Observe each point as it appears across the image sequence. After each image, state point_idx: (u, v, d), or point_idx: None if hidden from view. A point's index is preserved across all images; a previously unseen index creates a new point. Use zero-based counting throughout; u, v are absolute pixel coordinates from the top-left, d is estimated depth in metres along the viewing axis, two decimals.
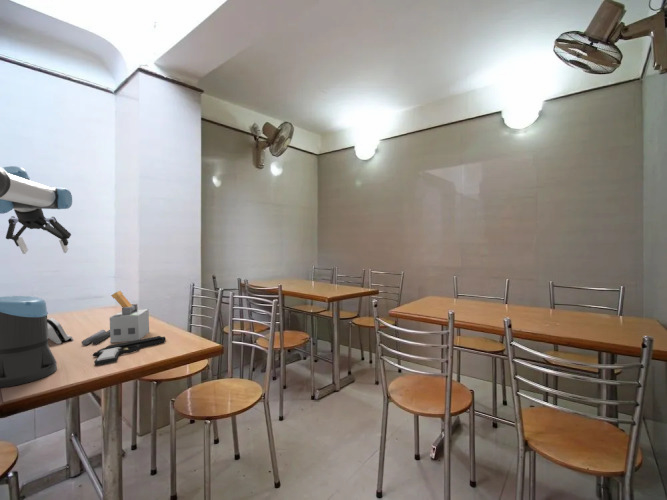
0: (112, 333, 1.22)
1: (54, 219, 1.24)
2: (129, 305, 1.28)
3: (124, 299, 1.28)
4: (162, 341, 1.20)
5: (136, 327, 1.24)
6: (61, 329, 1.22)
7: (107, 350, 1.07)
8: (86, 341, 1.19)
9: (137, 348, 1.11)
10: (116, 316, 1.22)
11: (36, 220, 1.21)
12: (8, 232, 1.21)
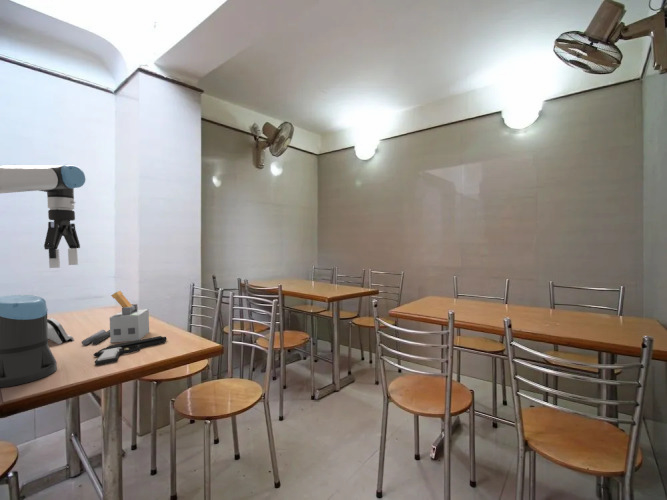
0: (112, 333, 1.22)
1: (53, 223, 1.10)
2: (129, 305, 1.28)
3: (124, 299, 1.28)
4: (163, 341, 1.20)
5: (136, 327, 1.24)
6: (62, 329, 1.22)
7: (108, 350, 1.07)
8: (86, 341, 1.19)
9: (138, 348, 1.11)
10: (116, 316, 1.22)
11: None
12: None
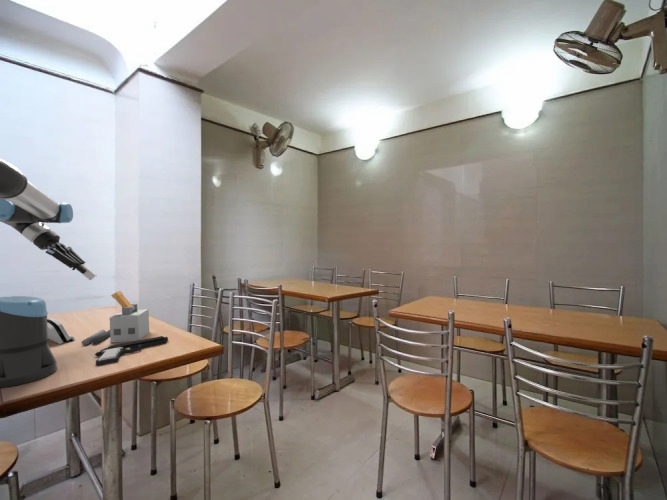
0: (112, 333, 1.22)
1: (50, 250, 1.16)
2: (129, 305, 1.28)
3: (124, 299, 1.28)
4: (164, 341, 1.20)
5: (136, 327, 1.24)
6: (63, 329, 1.22)
7: (109, 350, 1.07)
8: (86, 341, 1.19)
9: (139, 348, 1.11)
10: (116, 316, 1.22)
11: None
12: None
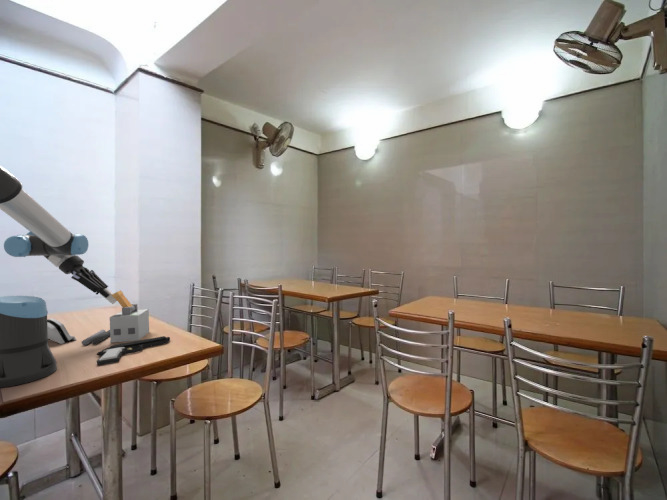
0: (112, 333, 1.22)
1: (76, 276, 1.19)
2: (129, 305, 1.28)
3: (124, 299, 1.28)
4: (166, 341, 1.20)
5: (136, 327, 1.24)
6: (64, 329, 1.23)
7: (111, 350, 1.07)
8: (86, 341, 1.19)
9: (140, 348, 1.11)
10: (116, 316, 1.22)
11: None
12: None
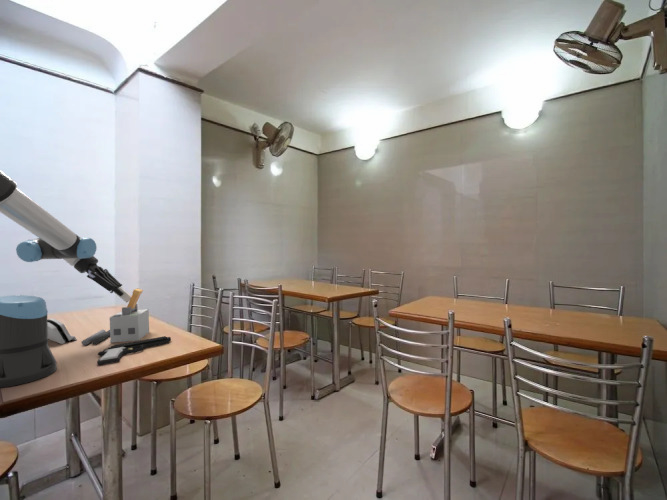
0: (112, 333, 1.22)
1: (92, 275, 1.20)
2: (133, 307, 1.28)
3: (136, 299, 1.29)
4: (167, 341, 1.19)
5: (136, 327, 1.24)
6: (64, 329, 1.22)
7: (111, 350, 1.07)
8: (86, 341, 1.19)
9: (141, 348, 1.11)
10: (116, 316, 1.22)
11: None
12: None
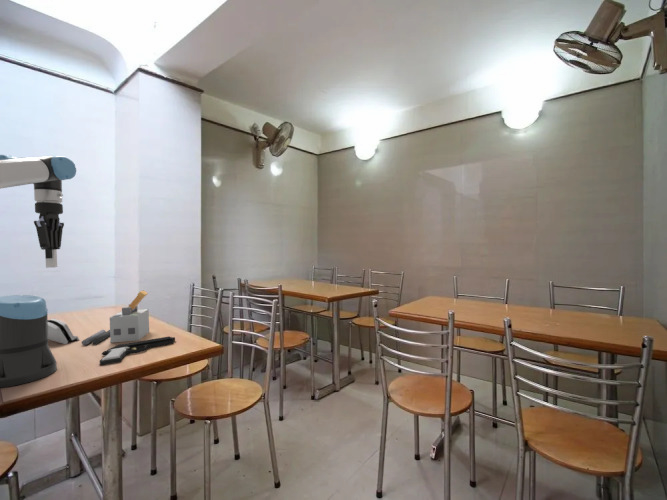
0: (112, 333, 1.22)
1: (39, 223, 1.08)
2: (134, 307, 1.29)
3: (139, 301, 1.29)
4: (171, 342, 1.19)
5: (136, 327, 1.24)
6: (67, 329, 1.22)
7: (115, 349, 1.07)
8: (86, 341, 1.19)
9: (144, 348, 1.11)
10: (116, 316, 1.22)
11: None
12: None
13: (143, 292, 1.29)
